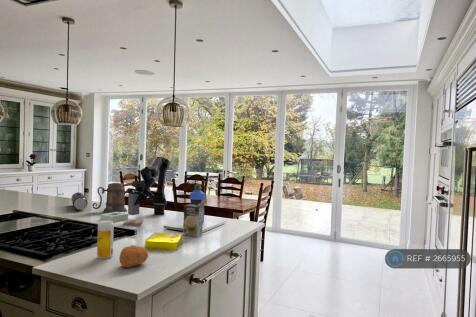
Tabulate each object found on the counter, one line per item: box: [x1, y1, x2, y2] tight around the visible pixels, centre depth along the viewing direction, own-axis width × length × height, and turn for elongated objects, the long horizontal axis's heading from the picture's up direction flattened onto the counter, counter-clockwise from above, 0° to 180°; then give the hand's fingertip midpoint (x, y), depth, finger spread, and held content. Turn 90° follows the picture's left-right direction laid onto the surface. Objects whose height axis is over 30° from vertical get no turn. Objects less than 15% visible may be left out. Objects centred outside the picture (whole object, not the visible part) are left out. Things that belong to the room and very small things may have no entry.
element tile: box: [144, 232, 183, 252], centre depth 155 cm, size 15×15×5 cm
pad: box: [122, 219, 144, 227], centre depth 196 cm, size 10×10×2 cm
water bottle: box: [189, 183, 206, 224], centre depth 203 cm, size 9×9×25 cm
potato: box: [118, 244, 149, 268], centre depth 128 cm, size 9×11×8 cm
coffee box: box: [182, 203, 204, 238], centre depth 176 cm, size 9×6×16 cm
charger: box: [127, 193, 140, 216], centre depth 196 cm, size 5×4×12 cm
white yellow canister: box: [96, 220, 115, 260], centre depth 136 cm, size 6×6×15 cm
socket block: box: [99, 212, 129, 223], centre depth 204 cm, size 12×11×4 cm
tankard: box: [92, 182, 128, 214], centre depth 232 cm, size 24×17×20 cm
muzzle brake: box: [71, 192, 88, 211], centre depth 241 cm, size 10×28×10 cm, turn 30°
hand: (132, 204), depth 195 cm, fingers closed on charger, 4 cm apart
